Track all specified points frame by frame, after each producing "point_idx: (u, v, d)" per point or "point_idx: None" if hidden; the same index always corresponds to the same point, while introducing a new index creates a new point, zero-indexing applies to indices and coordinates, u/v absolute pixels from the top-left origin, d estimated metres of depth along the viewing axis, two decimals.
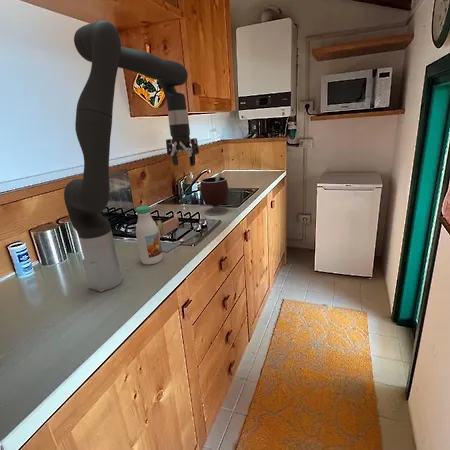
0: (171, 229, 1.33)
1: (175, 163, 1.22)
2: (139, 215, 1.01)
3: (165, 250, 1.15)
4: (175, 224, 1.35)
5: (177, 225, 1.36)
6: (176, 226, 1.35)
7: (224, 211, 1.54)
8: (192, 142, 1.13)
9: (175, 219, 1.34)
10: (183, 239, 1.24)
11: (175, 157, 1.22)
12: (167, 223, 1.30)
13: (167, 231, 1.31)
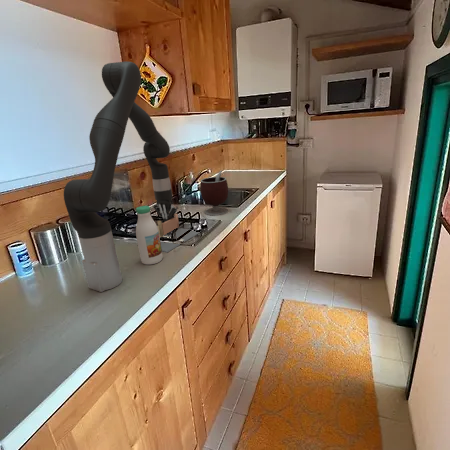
0: (171, 229, 1.33)
1: None
2: (139, 215, 1.01)
3: (165, 250, 1.15)
4: (175, 224, 1.35)
5: (177, 225, 1.36)
6: (176, 226, 1.35)
7: (224, 211, 1.54)
8: (172, 210, 1.30)
9: (175, 219, 1.34)
10: (183, 239, 1.24)
11: None
12: (167, 223, 1.30)
13: (167, 231, 1.31)
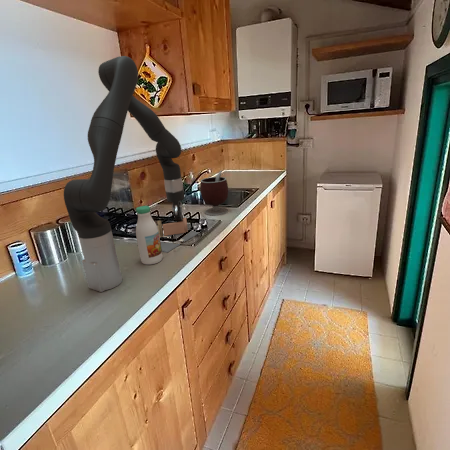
0: (175, 232, 1.29)
1: None
2: (139, 215, 1.01)
3: (165, 250, 1.15)
4: (181, 228, 1.29)
5: (184, 230, 1.29)
6: (183, 230, 1.29)
7: (224, 211, 1.54)
8: None
9: (182, 223, 1.28)
10: (183, 239, 1.24)
11: None
12: (169, 225, 1.27)
13: (169, 233, 1.28)
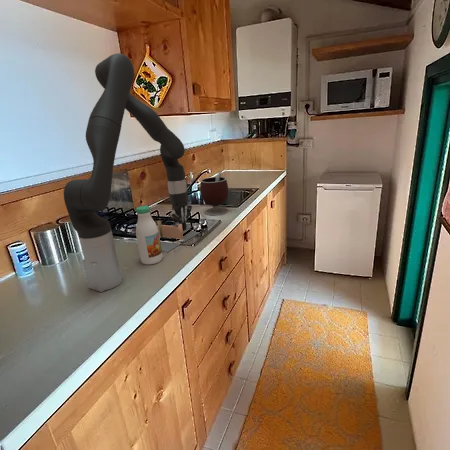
0: (171, 236, 1.25)
1: (182, 228, 1.28)
2: (139, 215, 1.01)
3: (165, 250, 1.15)
4: (177, 233, 1.23)
5: (179, 236, 1.23)
6: (178, 236, 1.24)
7: (224, 211, 1.54)
8: None
9: (177, 229, 1.22)
10: (183, 239, 1.24)
11: None
12: (166, 227, 1.25)
13: (166, 235, 1.26)
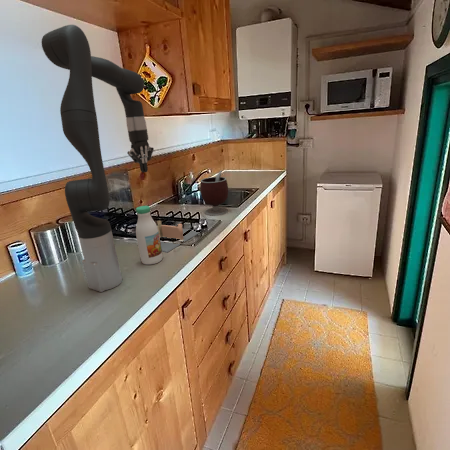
0: (171, 236, 1.25)
1: None
2: (139, 215, 1.01)
3: (165, 250, 1.15)
4: (177, 233, 1.23)
5: (179, 236, 1.23)
6: (178, 236, 1.24)
7: (224, 211, 1.54)
8: None
9: (177, 229, 1.22)
10: (183, 239, 1.24)
11: None
12: (166, 227, 1.25)
13: (166, 235, 1.26)
